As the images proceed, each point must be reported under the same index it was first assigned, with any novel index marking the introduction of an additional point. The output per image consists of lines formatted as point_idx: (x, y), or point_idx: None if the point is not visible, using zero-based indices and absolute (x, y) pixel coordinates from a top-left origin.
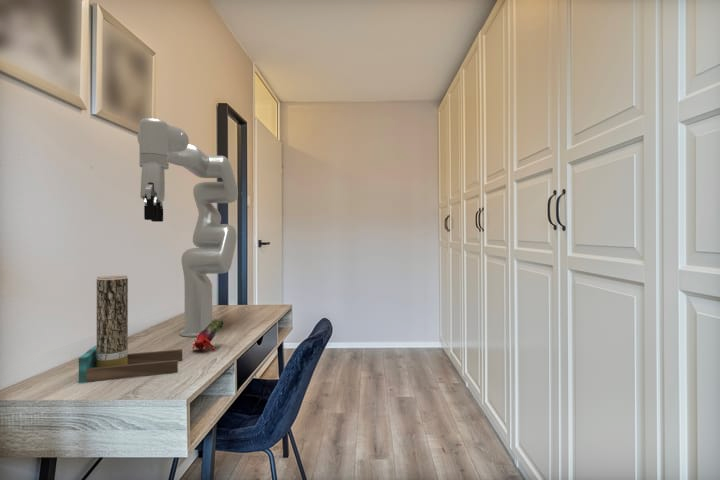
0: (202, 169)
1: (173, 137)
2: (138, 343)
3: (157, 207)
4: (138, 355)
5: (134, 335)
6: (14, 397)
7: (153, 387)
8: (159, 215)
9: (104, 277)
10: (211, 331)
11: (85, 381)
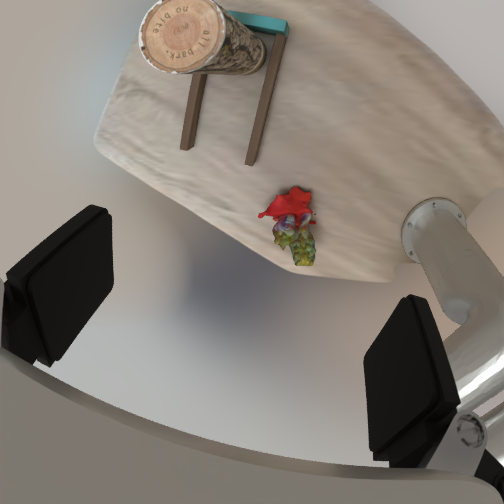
0: None
1: None
2: (429, 115)
3: (405, 448)
4: (262, 92)
5: (496, 126)
6: None
7: (140, 112)
8: (379, 384)
9: (164, 14)
10: (275, 231)
11: None
